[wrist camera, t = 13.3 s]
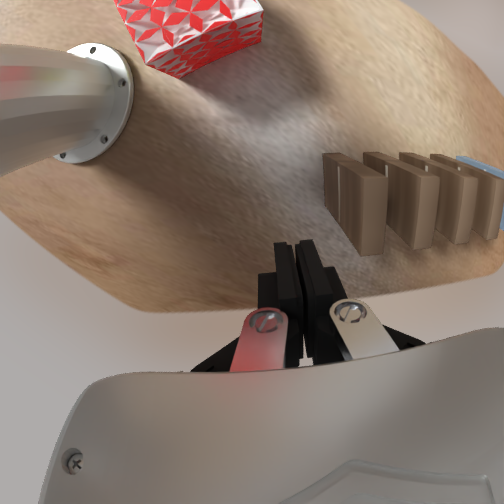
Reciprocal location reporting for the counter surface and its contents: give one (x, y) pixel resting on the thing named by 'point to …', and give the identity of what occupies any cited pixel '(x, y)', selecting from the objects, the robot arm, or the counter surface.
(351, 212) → the domino
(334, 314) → the robot arm
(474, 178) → the domino
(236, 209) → the counter surface
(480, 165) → the domino
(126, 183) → the counter surface
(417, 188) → the domino
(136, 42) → the red patterned cube
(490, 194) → the domino
